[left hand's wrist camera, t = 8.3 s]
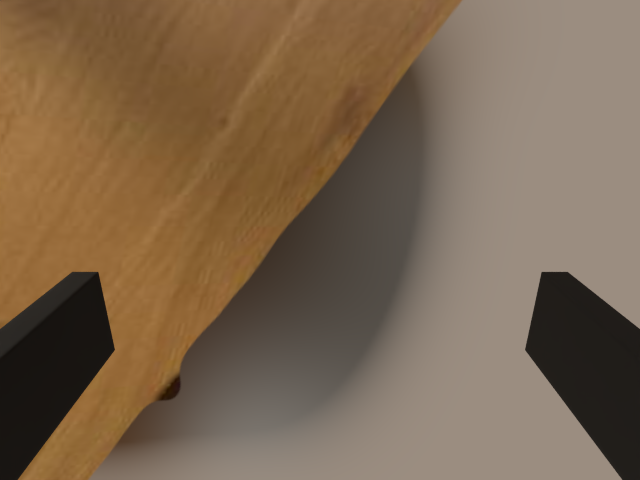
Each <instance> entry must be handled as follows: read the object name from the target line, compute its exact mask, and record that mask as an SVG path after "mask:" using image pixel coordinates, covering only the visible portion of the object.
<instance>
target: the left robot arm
mask: <svg viewBox="0 0 640 480" xmlns="http://www.w3.org/2000/svg"><path fill="white" fill-rule="evenodd" d="M114 350H115V348H114V344H113V339H112V334H111V330H110V325H109V320H108V316H107V311H106V306H105V301H104V297H103V292H102V287H101V283H100V278H99V273H98V272H72V273H70V274H69V275H68V276H67V277H65V278H64V279H63V280H62V281H60V282H59V283H58V284H57V285H55V286H54V287H53V288H52V289H50V290H49V291H48V292H46V293H45V294H44V295H43V296H41V297H40V298H39V299H38V300H36V301H35V302H34V303H33V304H31V305H30V306H29V307H28V308H26V309H25V310H24V311H22V312H21V313H20V314H19V315H17V316H16V317H15V318H14V319H12V320H11V321H10V322H9V323H7V324H6V325H5V326H4V327H2V328H1V329H0V480H18V478H19V477H20V476H21V474H22V473H23V472H24V470H25V469H26V468H27V466H28V465H29V464H30V462H31V461H32V460H33V458H34V457H35V456H36V454H37V453H38V452H39V450H40V449H41V448H42V446H43V445H44V444H45V442H46V441H47V440H48V438H49V437H50V436H51V434H52V433H53V432H54V430H55V429H56V428H57V426H58V425H59V424H60V422H61V421H62V420H63V418H64V417H65V416H66V414H67V413H68V412H69V410H70V409H71V408H72V406H73V405H74V404H75V402H76V401H77V400H78V398H79V397H80V396H81V394H82V393H83V392H84V390H85V389H86V388H87V386H88V385H89V384H90V382H91V381H92V380H93V378H94V377H95V376H96V374H97V373H98V372H99V370H100V369H101V368H102V366H103V365H104V364H105V362H106V361H107V360H108V358H109V357H110V356H111V354H112V353H113V352H114ZM525 350H526V352H527V353H528V354H529V356H530V357H531V358H532V360H533V361H534V362H535V364H536V365H537V366H538V368H539V369H540V370H541V372H542V373H543V374H544V376H545V377H546V378H547V380H548V381H549V382H550V384H551V385H552V386H553V388H554V389H555V390H556V392H557V393H558V394H559V396H560V397H561V398H562V400H563V401H564V402H565V404H566V405H567V406H568V408H569V409H570V410H571V412H572V413H573V414H574V416H575V417H576V418H577V420H578V421H579V422H580V424H581V425H582V426H583V428H584V429H585V430H586V432H587V433H588V434H589V436H590V437H591V438H592V440H593V441H594V442H595V444H596V445H597V446H598V448H599V449H600V450H601V452H602V453H603V454H604V456H605V457H606V458H607V460H608V461H609V462H610V464H611V465H612V466H613V468H614V469H615V470H616V472H617V473H618V474H619V476H620V477H621V478H622V480H640V329H639V328H638V327H636V326H635V325H634V324H633V323H631V322H630V321H629V320H628V319H626V318H625V317H624V316H622V315H621V314H620V313H619V312H617V311H616V310H615V309H614V308H612V307H611V306H610V305H609V304H607V303H606V302H605V301H604V300H602V299H601V298H600V297H599V296H597V295H596V294H595V293H594V292H592V291H591V290H590V289H588V288H587V287H586V286H585V285H583V284H582V283H581V282H580V281H578V280H577V279H576V278H575V277H573V276H572V275H571V274H569V273H568V272H542V273H541V278H540V283H539V287H538V292H537V297H536V301H535V306H534V311H533V316H532V320H531V325H530V330H529V335H528V339H527V344H526V348H525Z"/></svg>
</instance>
